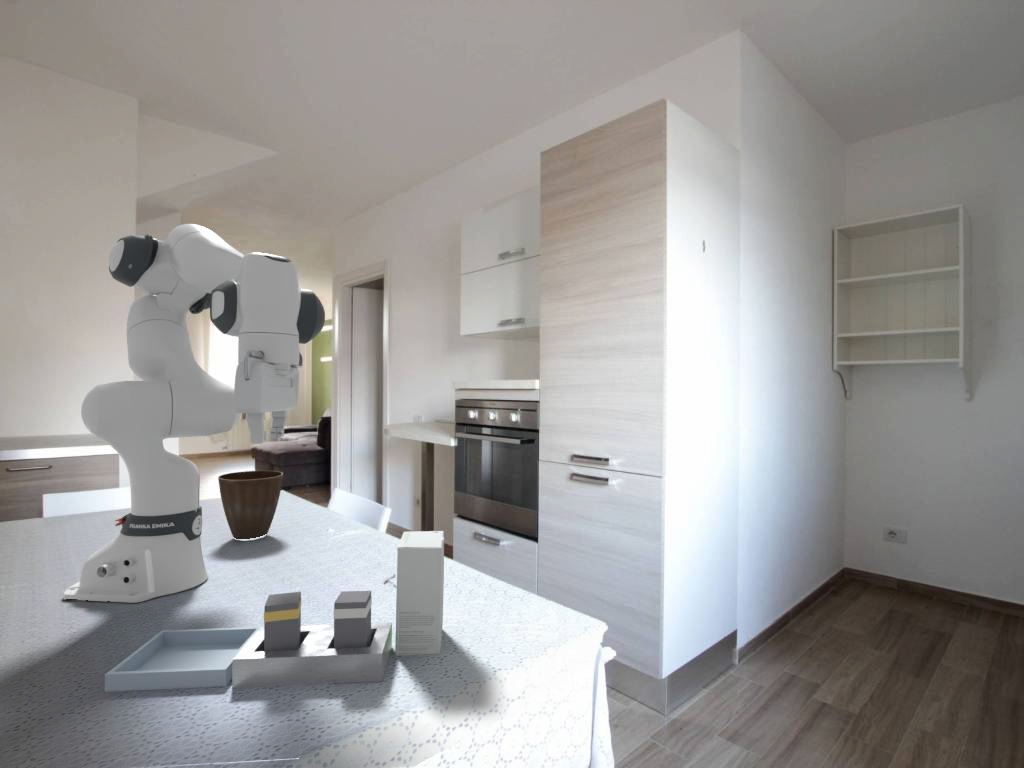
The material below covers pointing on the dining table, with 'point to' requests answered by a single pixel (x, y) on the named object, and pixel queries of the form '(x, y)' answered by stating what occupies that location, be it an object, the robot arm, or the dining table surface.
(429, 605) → the skincare box
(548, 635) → the dining table surface
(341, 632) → the twin plug
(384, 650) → the double slot holder
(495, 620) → the dining table surface
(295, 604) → the plug
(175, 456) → the robot arm
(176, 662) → the tray
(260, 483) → the plant pot
